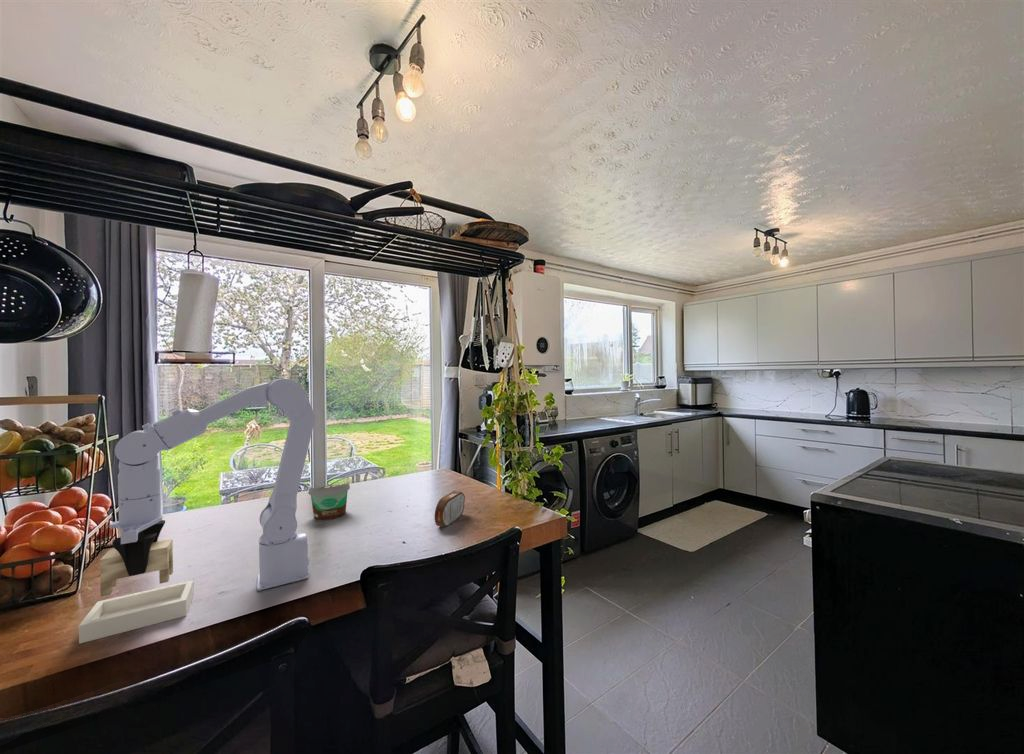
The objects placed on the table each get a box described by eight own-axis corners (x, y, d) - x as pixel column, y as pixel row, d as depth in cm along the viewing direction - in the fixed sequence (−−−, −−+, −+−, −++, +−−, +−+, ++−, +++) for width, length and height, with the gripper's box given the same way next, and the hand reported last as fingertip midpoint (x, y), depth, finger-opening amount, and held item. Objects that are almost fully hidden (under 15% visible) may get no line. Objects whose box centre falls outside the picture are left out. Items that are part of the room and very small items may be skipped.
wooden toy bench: (100, 596, 68) (99, 559, 68) (109, 585, 72) (108, 550, 72) (168, 581, 73) (167, 547, 73) (173, 571, 77) (172, 538, 77)
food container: (312, 524, 118) (311, 491, 118) (308, 518, 123) (308, 487, 123) (354, 515, 125) (354, 484, 125) (349, 510, 130) (349, 480, 130)
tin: (457, 513, 126) (457, 487, 126) (466, 514, 125) (466, 487, 125) (433, 530, 112) (433, 501, 112) (443, 532, 111) (442, 502, 111)
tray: (193, 594, 80) (193, 579, 80) (186, 615, 73) (186, 599, 73) (97, 617, 73) (97, 601, 73) (79, 643, 66) (78, 625, 66)
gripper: (122, 489, 77) (124, 558, 77) (94, 510, 65) (96, 592, 65) (169, 484, 81) (171, 549, 81) (151, 502, 68) (153, 580, 68)
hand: (141, 568), depth 73 cm, fingers closed on wooden toy bench, 4 cm apart
